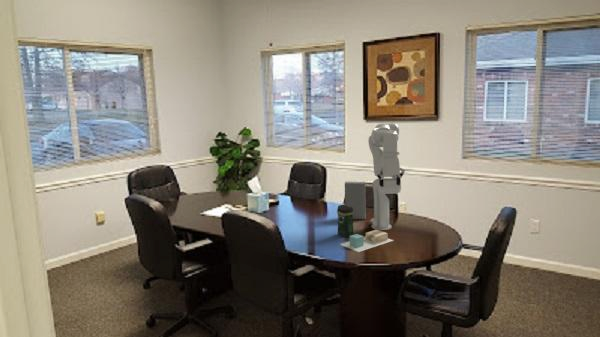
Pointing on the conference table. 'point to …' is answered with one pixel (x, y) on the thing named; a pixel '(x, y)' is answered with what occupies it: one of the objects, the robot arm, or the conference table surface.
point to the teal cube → (356, 240)
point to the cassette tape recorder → (356, 198)
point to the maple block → (376, 236)
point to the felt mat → (365, 245)
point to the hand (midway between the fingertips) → (389, 185)
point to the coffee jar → (345, 221)
